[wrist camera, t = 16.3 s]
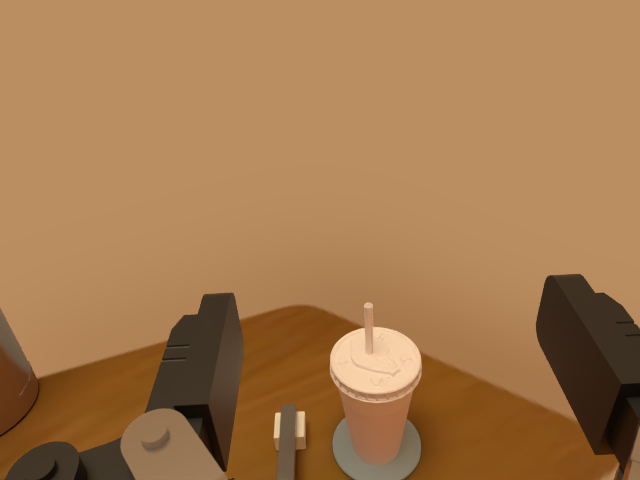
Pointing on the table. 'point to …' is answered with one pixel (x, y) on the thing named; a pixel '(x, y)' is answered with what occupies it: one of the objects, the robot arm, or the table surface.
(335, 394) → the table surface
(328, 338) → the table surface
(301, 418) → the hurdle stand
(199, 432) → the robot arm
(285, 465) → the steel bar
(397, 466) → the pad
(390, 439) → the smoothie
